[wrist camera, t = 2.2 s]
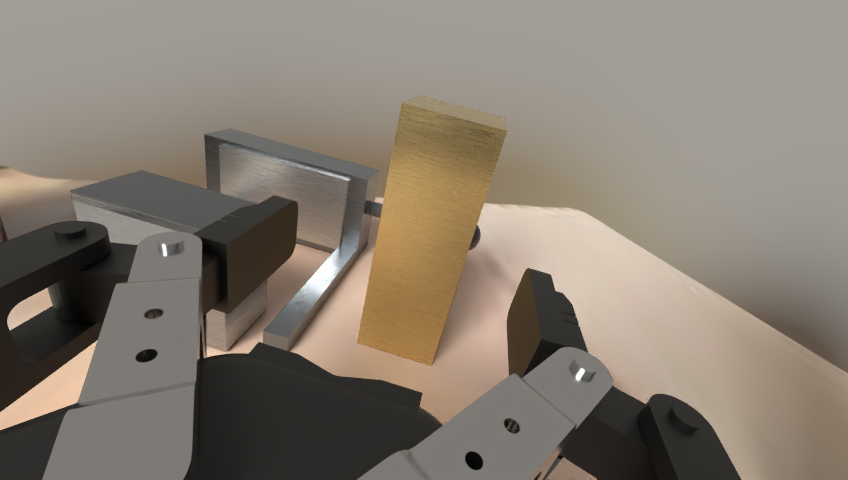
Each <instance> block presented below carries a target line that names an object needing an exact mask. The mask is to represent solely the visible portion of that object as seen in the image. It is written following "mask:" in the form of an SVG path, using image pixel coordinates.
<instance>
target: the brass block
mask: <svg viewBox="0 0 848 480" xmlns="http://www.w3.org/2000/svg"><path fill="white" fill-rule="evenodd" d="M506 133H507V127H506V121H505V118H504V117H500V116H496V115H493V114H489V113H485V112H481V111H477V110H474V109H470V108H466V107H462V106H458V105H454V104H451V103H447V102H443V101H439V100H436V99H432V98H428V97H424V96H420V97H417V98H414V99H411V100H408V101H406V102H403V103H402V105H401V110H400V115H399V121H398V126H397V131H396V137H395V142H394V147H393V153H392V159H391V164H390V169H389V174H388V180H387V185H386V191H385V196H384V201H383V206H382V212H381V217H380V223H379V228H378V233H377V239H376V244H375V249H374V255H373V260H372V266H371V271H370V276H369V282H368V287H367V292H366V298H365V303H364V308H363V314H362V319H361V325H360V330H359V335H358V341H357V343H359V344H363V345H366V346H369V347H372V348H376V349H379V350H382V351H385V352H389V353H392V354H395V355H398V356H402V357H405V358H408V359H411V360H414V361H418V362H421V363H424V364H427V365H432V362H433V359H434V356H435V353H436V350H437V347H438V343H439V340H440V337H441V334H442V331H443V328H444V325H445V322H446V319H447V316H448V312H449V309H450V306H451V303H452V300H453V297H454V294H455V291H456V288H457V285H458V282H459V278H460V275H461V272H462V269H463V266H464V263H465V260H466V257H467V254H468V251H469V247H470V244H471V241H472V238H473V235H474V232H475V229H476V226H477V223H478V220H479V216H480V213H481V210H482V207H483V204H484V201H485V198H486V195H487V192H488V189H489V185H490V182H491V179H492V176H493V173H494V170H495V167H496V163H497V161H498V157H499V155H500V151H501V148H502V145H503V142H504V139H505V136H506Z"/></svg>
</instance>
